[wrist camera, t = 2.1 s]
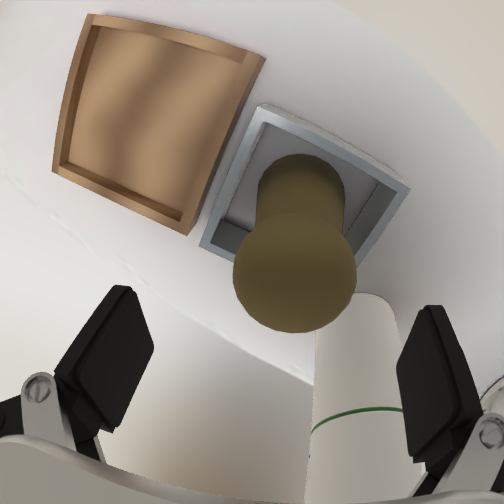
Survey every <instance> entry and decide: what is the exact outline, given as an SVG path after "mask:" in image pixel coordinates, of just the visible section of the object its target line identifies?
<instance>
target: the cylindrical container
mask: <svg viewBox="0 0 504 504" xmlns="http://www.w3.org/2000/svg"><path fill="white" fill-rule="evenodd" d="M402 350H403V349H402V345H401V340H400V336H399V332H398V328H397V324H396V320H395V317H394V313H393V310H392V308H391V306H390V305H389V304H388V303H387V302H386V301H385V300H384V299H382V298H381V297H379V296H376V295H373V294H368V293H354V294H353V295H352V298H351V301H350V303H349V305H348V306H347V307H346V308H345V309H344V310H343V312H342V313H341V314H340V315H339V316H338V317H337V318H336V319H335V320H334V321H332V322H331V323H329V324H328V325H326V326H324V327H323V328H320V329H317V330H316V346H315V374H314V394H313V411H312V427H311V439H310V450H309V462H308V471H307V481H306V490H305V499H304V504H354V503H368V502H378V501H388V500H397V499H404V498H407V497H408V496H409V494H410V493H411V492H412V490H413V489H414V488H415V486H416V485H417V483H418V482H419V480H420V479H421V478H422V466H421V463H414V464H413V457H410V456H409V454H408V449H407V440H406V432H405V424H404V417H403V410H402V404H401V397H400V391H399V386H398V380H397V375H396V364H397V361H398V359H399V357H400V354H401V352H402Z"/></svg>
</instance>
